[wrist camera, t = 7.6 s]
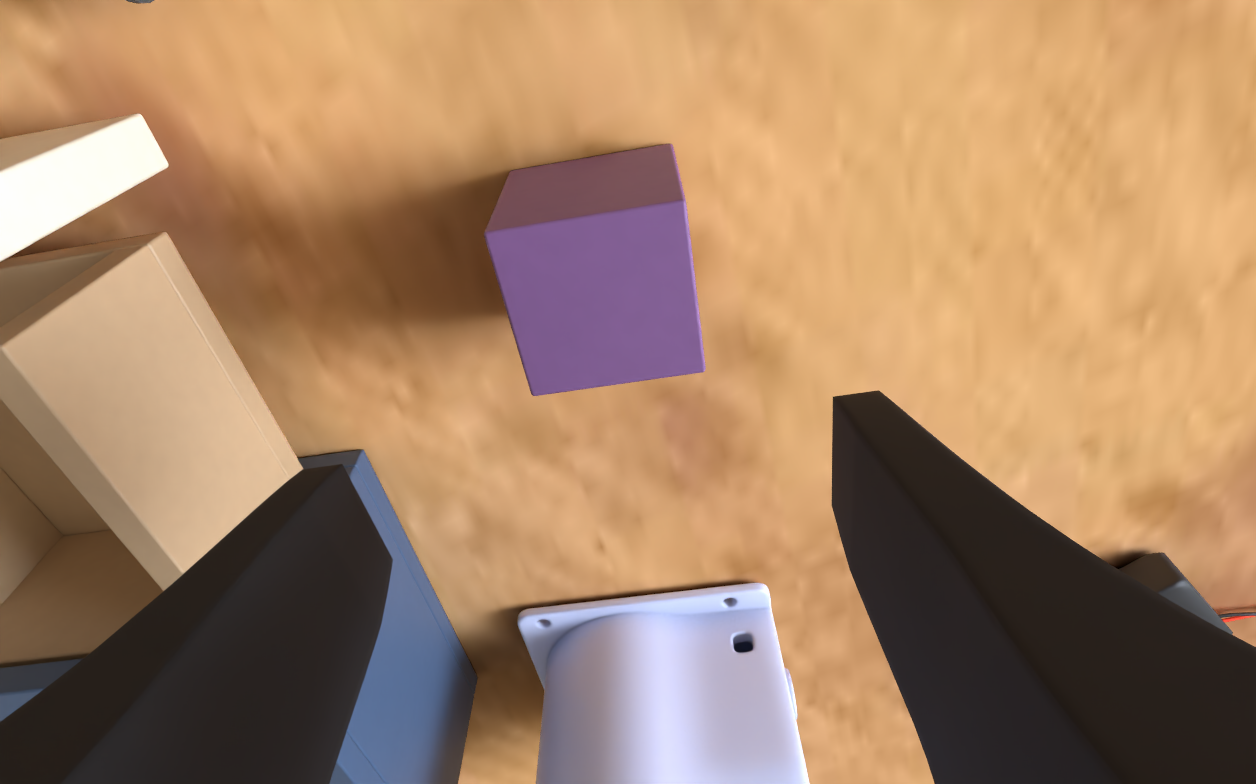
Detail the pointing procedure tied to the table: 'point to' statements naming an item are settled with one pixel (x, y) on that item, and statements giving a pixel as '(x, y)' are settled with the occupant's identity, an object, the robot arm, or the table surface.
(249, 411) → the drawer
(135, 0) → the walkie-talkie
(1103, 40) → the table surface
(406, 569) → the cabinet
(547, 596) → the table surface
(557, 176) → the block
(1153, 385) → the table surface
